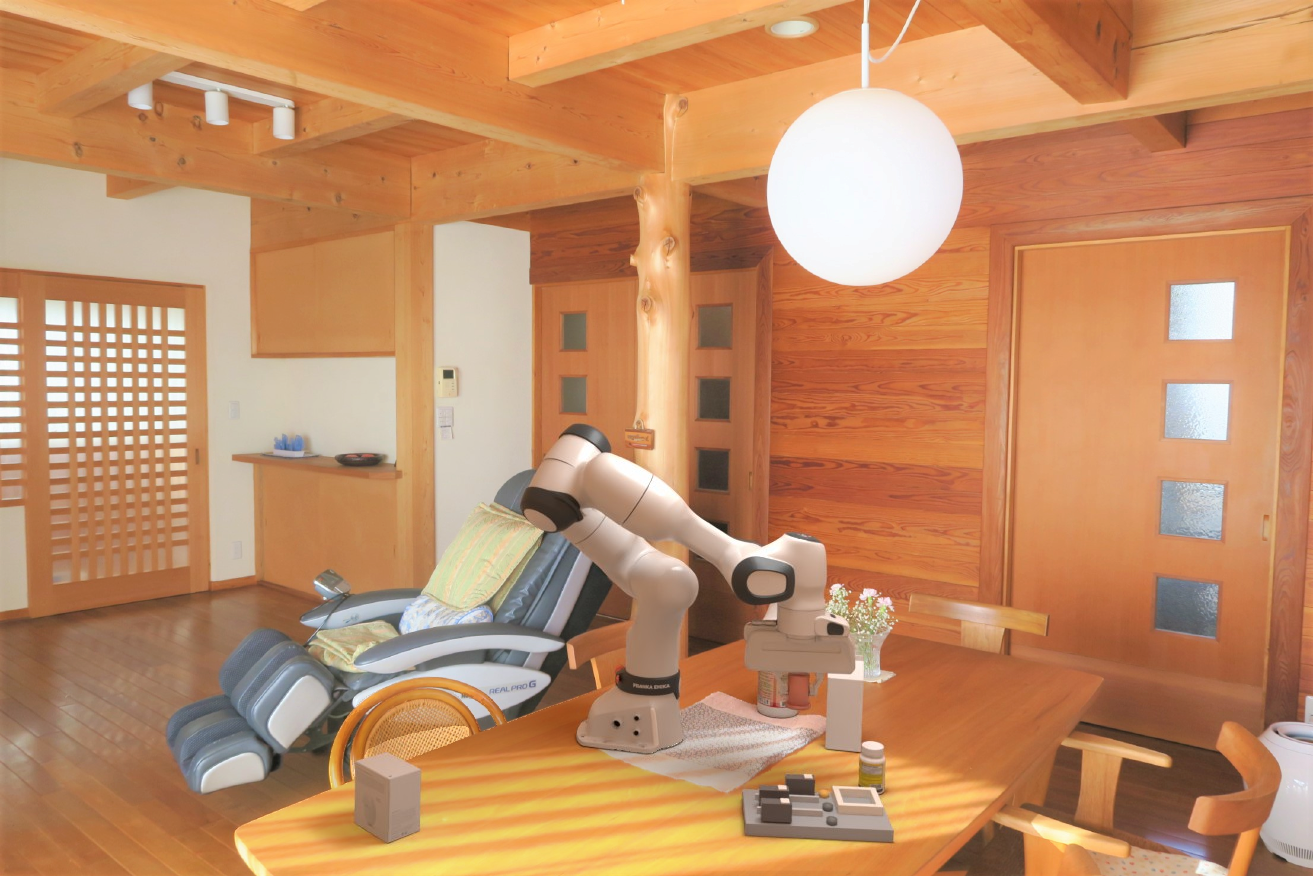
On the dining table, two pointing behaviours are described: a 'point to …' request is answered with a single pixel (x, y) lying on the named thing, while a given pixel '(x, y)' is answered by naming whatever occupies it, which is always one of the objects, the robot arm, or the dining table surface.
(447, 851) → the dining table surface
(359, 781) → the skincare box
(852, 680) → the milk carton
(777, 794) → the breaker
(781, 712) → the fruit juice
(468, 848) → the dining table surface
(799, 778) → the block
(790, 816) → the block
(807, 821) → the panel
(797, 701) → the cap
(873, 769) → the supplement bottle
